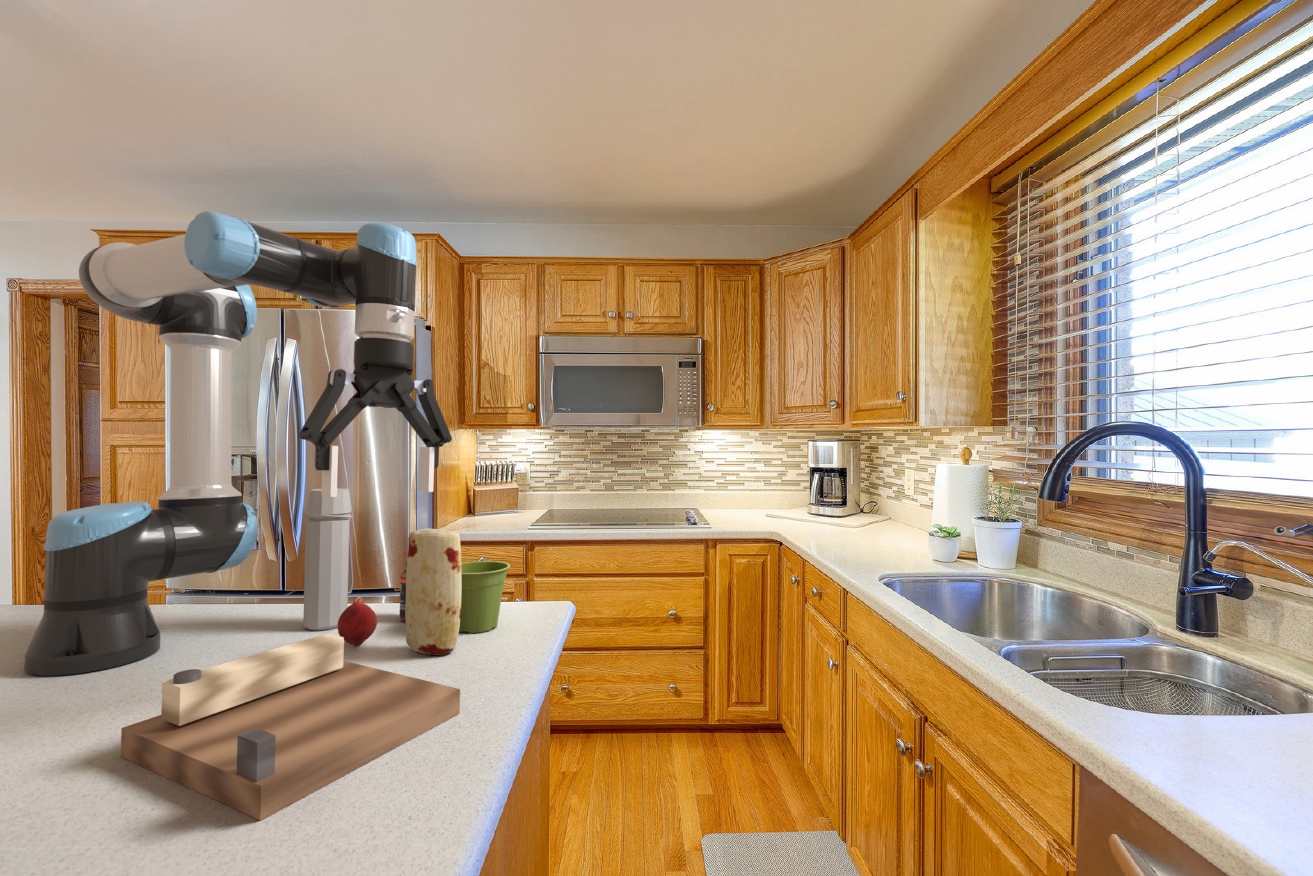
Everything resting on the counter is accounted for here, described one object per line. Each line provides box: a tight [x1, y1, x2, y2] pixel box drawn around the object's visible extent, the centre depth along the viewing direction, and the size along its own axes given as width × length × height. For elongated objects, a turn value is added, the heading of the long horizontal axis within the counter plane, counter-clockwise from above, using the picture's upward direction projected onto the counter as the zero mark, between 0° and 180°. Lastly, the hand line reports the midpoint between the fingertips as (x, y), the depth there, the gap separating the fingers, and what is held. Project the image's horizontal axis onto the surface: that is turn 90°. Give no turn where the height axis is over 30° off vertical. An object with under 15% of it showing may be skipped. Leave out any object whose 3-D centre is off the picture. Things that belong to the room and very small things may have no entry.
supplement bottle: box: [399, 560, 407, 623], centre depth 114 cm, size 6×6×11 cm
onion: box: [337, 596, 378, 648], centre depth 98 cm, size 6×6×8 cm
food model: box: [405, 527, 462, 656], centre depth 96 cm, size 10×7×20 cm
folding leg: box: [160, 633, 345, 726], centre depth 72 cm, size 19×4×5 cm, turn 154°
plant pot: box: [459, 560, 511, 634], centre depth 109 cm, size 12×12×11 cm
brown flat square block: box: [120, 660, 461, 821], centre depth 68 cm, size 24×24×6 cm
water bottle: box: [302, 487, 355, 631], centre depth 110 cm, size 9×8×25 cm
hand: (380, 493), depth 82 cm, fingers open, 13 cm apart
